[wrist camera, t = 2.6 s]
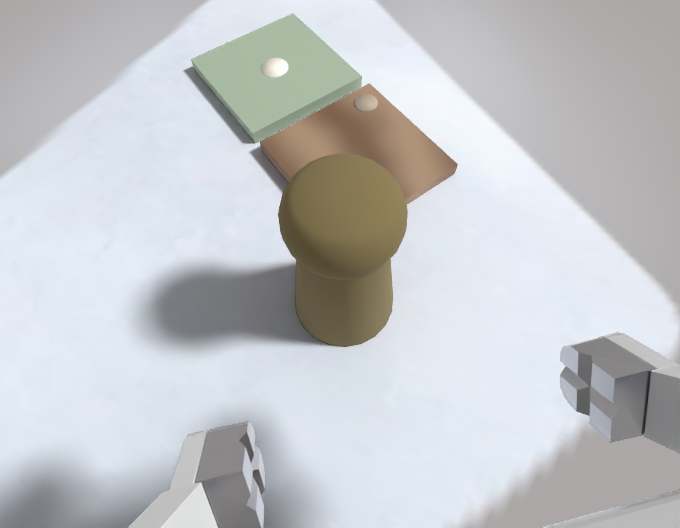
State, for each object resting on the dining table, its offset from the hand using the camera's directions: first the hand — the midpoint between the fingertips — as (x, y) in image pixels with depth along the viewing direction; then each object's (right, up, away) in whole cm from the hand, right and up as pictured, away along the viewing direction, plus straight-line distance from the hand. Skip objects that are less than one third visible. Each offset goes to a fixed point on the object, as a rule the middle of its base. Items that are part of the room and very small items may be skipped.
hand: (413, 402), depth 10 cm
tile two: (-1, +11, +19) cm, 22 cm away
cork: (-2, +1, +15) cm, 15 cm away
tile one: (-7, +19, +23) cm, 31 cm away
